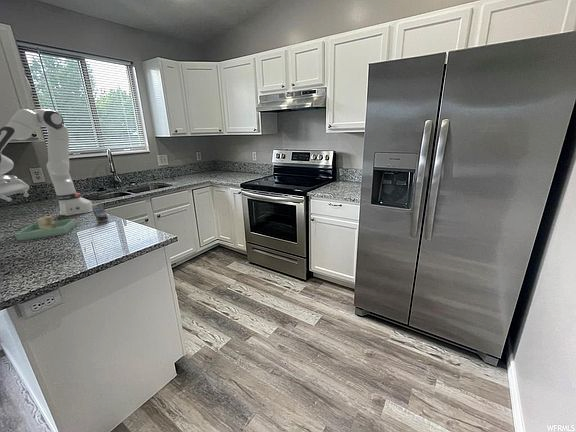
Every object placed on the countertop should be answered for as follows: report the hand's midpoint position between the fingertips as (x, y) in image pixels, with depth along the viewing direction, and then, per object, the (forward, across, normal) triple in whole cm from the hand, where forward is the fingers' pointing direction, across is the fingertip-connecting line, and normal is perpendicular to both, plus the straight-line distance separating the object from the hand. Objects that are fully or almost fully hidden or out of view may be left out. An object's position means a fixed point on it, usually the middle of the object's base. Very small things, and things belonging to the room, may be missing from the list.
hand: (19, 198), depth 155 cm
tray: (+26, -4, +2) cm, 27 cm away
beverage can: (+40, +14, -10) cm, 44 cm away
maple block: (+25, -4, +2) cm, 26 cm away
